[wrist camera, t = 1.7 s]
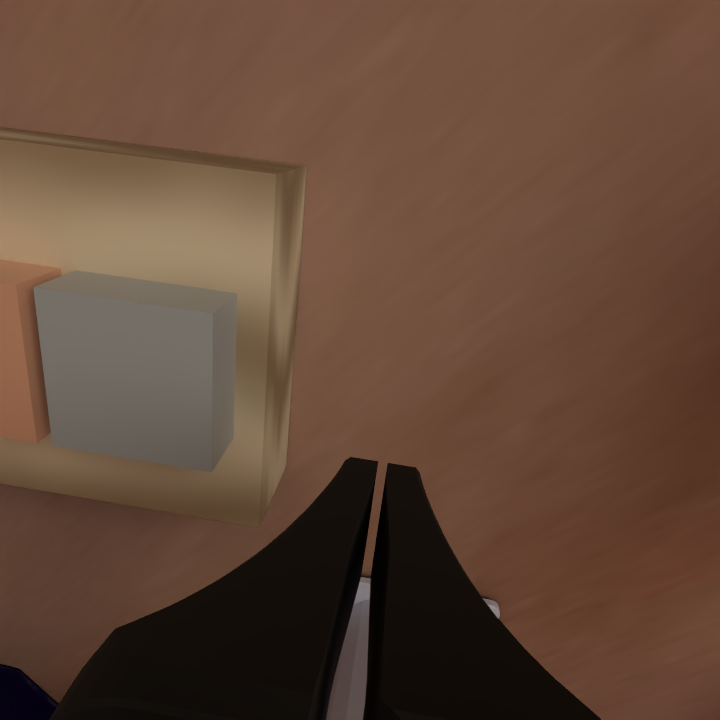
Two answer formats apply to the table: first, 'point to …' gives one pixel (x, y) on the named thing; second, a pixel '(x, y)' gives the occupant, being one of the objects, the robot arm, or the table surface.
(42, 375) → the terracotta tile
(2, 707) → the bottle
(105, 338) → the slate tile
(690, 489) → the table surface
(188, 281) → the board
